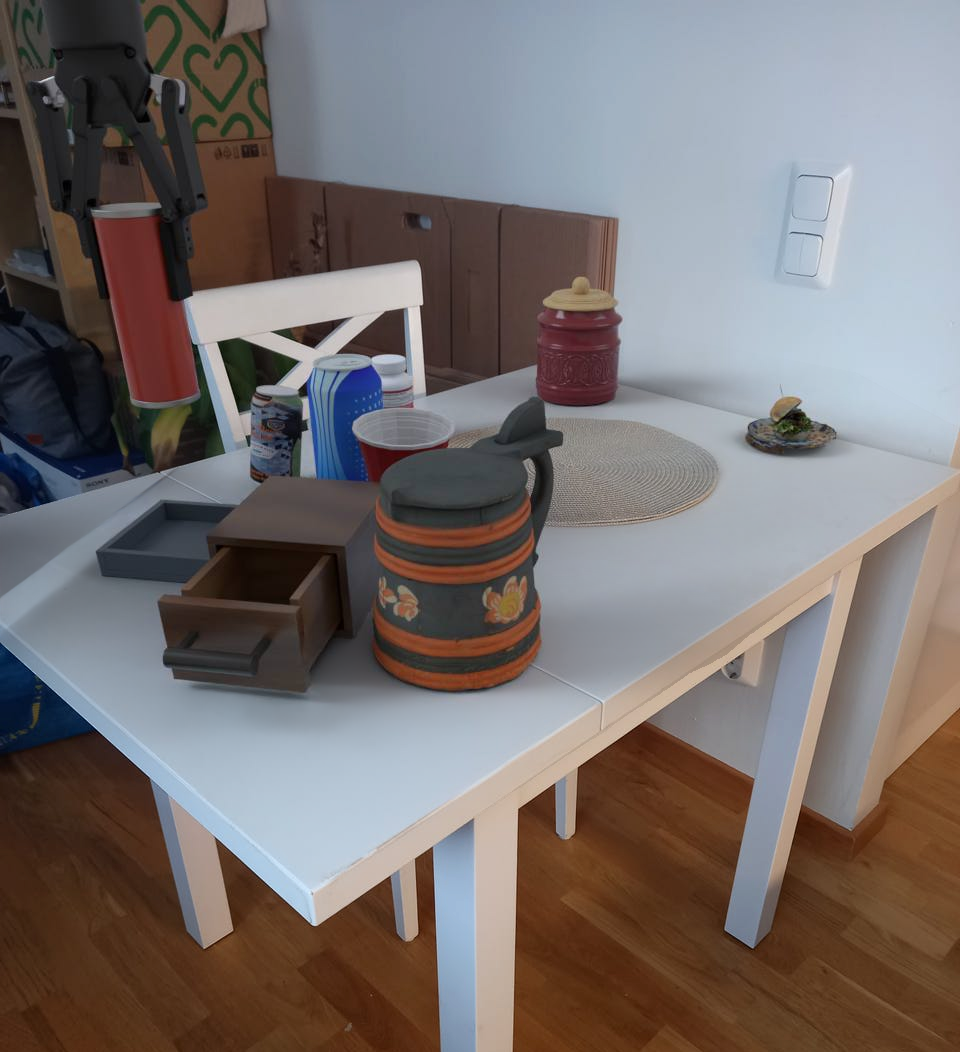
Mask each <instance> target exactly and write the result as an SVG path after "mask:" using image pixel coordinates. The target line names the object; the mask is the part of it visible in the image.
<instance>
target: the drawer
mask: <svg viewBox="0 0 960 1052" xmlns="http://www.w3.org/2000/svg"><path fill="white" fill-rule="evenodd" d="M180 593H181V595H177V594H169V593H167V594H166V593H165V594H162V595H161V597H159V598H158V599H157V600H156V602H157V609H158V612H159V618H160V621H161V627H162V630H163V635H164V640H165V645H166V647H165V648H164V651H163V653H162V664H163V667H165V668H167V669H171V673H172V676H173V679H174V680H179V681H187V682H189V681H190V682H197V683H208V684H216V685H217V684H218V685H227V686H238V687H246V688H257V689H266V690H275V691H285V692H294V693H295V692H296V693H302V694H303V693H304V694H306V693H307V692H308V691H309V689H310V687H311V685H312V683H311V676H310V670H311V668H312V667H313V666H314V664H315V662H316V661H317V660H318V658H319V656H320V654H321V653H322V652H323V650H324V649H325V648H326V646H327V644H328V642H329V640H330V639H331V636H332V634H333V633H334V631H335V630H336V628H337V627H338V625H339V624H340V622H341V621H342V619H343V610H342V600H341V590H340V580H339V571H338V561H337V554H334V553H321V552H308V551H295V550H282V549H269V548H256V547H243V546H230V545H225V546H224V547H223V548H222V549H221V550H220V551H219V552H218V553H217V554H216V555H215V556H214V557H213V558H212V559H211V560H210V561H209V562H208V563H207V564H206V565H205V566H204V567H203V568H202V569H201V570H200V571H199V572H198V573H197V574H196V575H195V576H194V577H192V578H191V579H190V580H189V581H188V582H187V583H185V584H184V585H183V586H182V587H181V589H180Z"/></svg>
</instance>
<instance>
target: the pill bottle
mask: <svg viewBox="0 0 960 1052" xmlns="http://www.w3.org/2000/svg"><path fill="white" fill-rule="evenodd" d="M371 359H372V366H373V367H374V369H375V370H376V372H377V373H378V375H379V376H380V378H381V381H382V395H383V409H390V408H415V407H414V389H413V388H414V387H413V386H414V385H413V379H412V377H411V375H410V374H408V373H407V372H405V371H406V370H407V358H406V357H405V356H404V355H403V356H402V355H400V354H392V353H391V354H389V353H388V354H379V355H375V356H373V357H371Z"/></svg>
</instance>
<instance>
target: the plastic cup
mask: <svg viewBox="0 0 960 1052" xmlns="http://www.w3.org/2000/svg"><path fill="white" fill-rule="evenodd" d="M352 431H353V433H354V435H355V436H356V437H357V440H358V441H359V446H360V447H361V451H362V455H363V457H364V460H365V464H366V468H367V473H368V477H369V481H370V482H380V481H381V477H382V475H383V473H384V472H385V471H386V470H387V469H388V468H389V467H390V466H391V465H393V464H395V463H396V462H398V461H400V460H402V459H404V458H406V457H408V456H411V455H414V454H417V453H420V452H424V451H429V450H435V449H445V448H449V442H450V441H451V439H452V437H453V436H454V434H455V423H454V422H453V421H452V420H451V419H450V418H449V417H448V416H446V415H444V414H441V413H439V412H436V411H433V410H427V409H422V408H417V407H414V408H390V409H382V410H376V411H373V412H370V413H367V414H364V415H362V416H360V417H359V418H358V419H356V420H355V421H354V422H353V427H352Z"/></svg>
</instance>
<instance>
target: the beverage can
mask: <svg viewBox="0 0 960 1052" xmlns="http://www.w3.org/2000/svg"><path fill="white" fill-rule="evenodd" d="M255 388H256V389H255V392H254V394H253V395H252V397H251V400H250V446H249V447H250V448H249V449H250V452H249V464H250V465H249V477H250V479H251V480H253V481H254V482H255V483H256V484H257V485H258V486H260V485H261V484H262V483H263V482H264V481H265V480H266V479H267V478H268V477H269V476H286V477H301V466H302V443H303V442H302V441H303V418H304V415H303V414H304V402H303V400H302V399H301V396H300V395H299V393H300V392H299V390H298V389H296V388H293V387H289V386H285V385H284V386H283V385H277V384H276V385H274V384H267V385H266V384H265V385H264V384H263V385H259V386H257V387H255Z"/></svg>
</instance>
